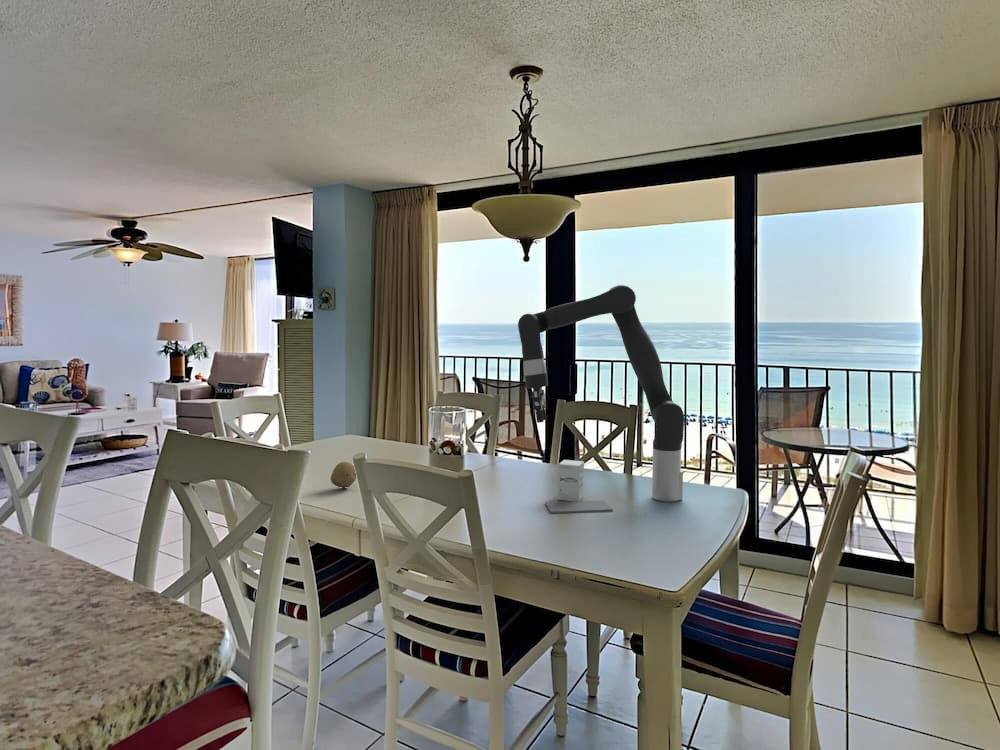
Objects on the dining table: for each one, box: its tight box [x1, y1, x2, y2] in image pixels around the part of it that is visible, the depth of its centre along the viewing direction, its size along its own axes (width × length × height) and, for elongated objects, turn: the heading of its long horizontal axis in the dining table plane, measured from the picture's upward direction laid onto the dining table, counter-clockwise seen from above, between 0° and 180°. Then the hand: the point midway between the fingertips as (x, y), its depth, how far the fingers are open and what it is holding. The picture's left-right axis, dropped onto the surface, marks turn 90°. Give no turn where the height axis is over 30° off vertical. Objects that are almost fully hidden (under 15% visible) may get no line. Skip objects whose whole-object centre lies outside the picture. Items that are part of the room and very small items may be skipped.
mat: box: [544, 499, 614, 515], centre depth 195 cm, size 20×10×1 cm, turn 96°
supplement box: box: [557, 459, 585, 502], centre depth 205 cm, size 7×7×13 cm
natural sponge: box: [330, 461, 357, 488], centre depth 218 cm, size 9×9×10 cm
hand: (541, 421), depth 202 cm, fingers open, 8 cm apart
